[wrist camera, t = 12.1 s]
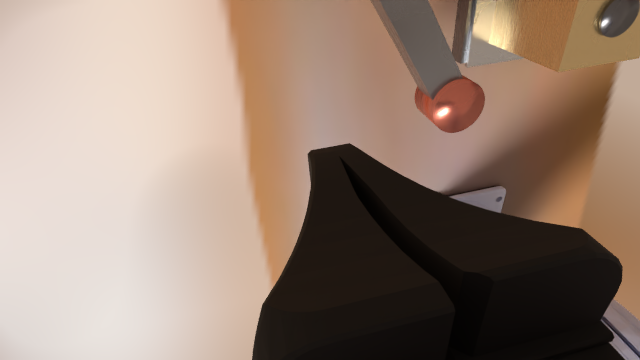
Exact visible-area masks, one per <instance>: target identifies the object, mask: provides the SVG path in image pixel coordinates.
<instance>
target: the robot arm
mask: <svg viewBox="0 0 640 360" xmlns="http://www.w3.org/2000/svg"><path fill="white" fill-rule="evenodd" d="M308 162H309V171H310V180H311V190H310V196H309V202H308V207H307V212H306V215H305V219H304V222H303V226H302V229H301V232H300V234H299V237H298V240H297V243H296V245H295V247H294V250H293V252H292V254H291V256H290V258H289V260H288V262H287V264H286V266H285V268H284V270H283V272H282V274H281V276H280V278H279V279H278V281H277V283H276V284H275V286H274V287H273V289H272V290H271V292H270V294H269V295H268V297H267V298H266V300H265V302H264V303H263V305H262V309H261V313H260V317H259V321H258V326H257V331H256V336H255V341H254V348H253V356H252V360H640V321H639V320H638V319H637V318H636V317H635V316H634V315H632V314H631V313H630V312H629V311H628V310H627V309H626V308H625V307H623V306H622V305H621V304H619V303H618V302H617V301H616V300H614V299H613V298H614V296H615V295H616V293H617V291H618V289H619V286H620V284H621V282H622V265H621V263H620V261H619V259H618V258H617V257H616V256H614V255H613V254H612V253H611V252H609V251H608V250H607V249H606V248H605V247H603V246H602V245H601V244H600V243H598V242H597V241H596V240H595V239H594V238H593V237H591V236H590V235H589V234H588V233H586V232H585V231H584V230H583V229H580V228H574V227H568V226H562V225H556V224H550V223H544V222H538V221H533V220H528V219H524V218H519V217H515V216H511V215H506V214H502V213H501V210H502V206H503V202H504V198H505V195H506V189H505V188H504V187H502V186H497V187H492V188H487V189H482V190H478V191H473V192H468V193H463V194H458V195H454V196H449V197H448V196H446V195H443V194H441V193H438V192H436V191H433V190H431V189H429V188H426V187H424V186H422V185H420V184H418V183H416V182H414V181H412V180H410V179H408V178H406V177H404V176H402V175H401V174H399V173H397V172H395V171H394V170H392V169H390V168H388V167H387V166H385V165H383V164H382V163H380V162H379V161H377V160H375V159H374V158H372V157H371V156H369V155H368V154H366V153H364V152H363V151H361V150H360V149H358V148H357V147H355V146H353V145H352V144H350V143H349V144H344V145H338V146H333V147H327V148H321V149H316V150H311V151H310V152H309V153H308Z"/></svg>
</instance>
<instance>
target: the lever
mask: <svg viewBox="0 0 640 360" xmlns="http://www.w3.org/2000/svg"><path fill="white" fill-rule="evenodd" d="M371 2H372V4H373V6H374V7H375V9H376V11H377V13H378V15H379V16H380V18H381V20H382V22H383V24H384V26H385V27H386V29H387V31H388V33H389V35H390V37H391V38H392V40H393V42H394V44H395V46H396V47H397V49H398V51H399V53H400V55H401V57H402V58H403V60H404V62H405V64H406V66H407V68H408V69H409V71H410V73H411V75H412V77H413V78H414V80H415V82H416V84H417V89H416V92H415V103H416V106H417V108H418V109H419V110H420V111H421V112H422V113H423V114H424V115H425V116H426V117H427V118H428V119H429V120H430V121H432V122H433V123H434V124H435V125H436V126H437V127H438V128H439V129H441V130H442V131H444V132H448V133H455V132H459V131H462V130H464V129H466V128H468V127H469V126H470V125H472V124H473V123H474V122H475V121H476V120H477V118H478V117H479V115H480V114H481V112H482V110H483V107H484V102H485V96H484V92H483V90H482V88H481V87H480V86H479V85H478V84H476V83H475V82H473V81H471V80H470V79H468V78H466V77H465V76H463V75H461V73H460V70H459V68H458V66H457V64H456V62H455V59H454V57H453V55H452V53H451V51H450V48H449V46H448V44H447V42H446V39H445V37H444V35H443V33H442V31H441V28H440V26H439V24H438V22H437V19H436V17H435V15H434V13H433V11H432V8H431V6H430V4H429V2H428V0H371Z"/></svg>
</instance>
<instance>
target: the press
mask: <svg viewBox="0 0 640 360" xmlns="http://www.w3.org/2000/svg"><path fill="white" fill-rule="evenodd" d="M495 6H496V0H459V1H458V9H457V17H456V25H455V33H454V41H453V49H452V55H453V57H454V59H455V61H457V62H459V63H466V64H465V67H473V66H479V65H486V64H492V63H498V62H505V61H511V60H517V59H524V58H523V57H521V56H518V55H516V54H514V53H511V52H509V51H507V50H504V49H502V48H499V47H497V46H495V45H492V44H490V43H489V41H490V35H491V30H492V24H493V18H494V12H495Z"/></svg>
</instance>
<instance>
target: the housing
mask: <svg viewBox="0 0 640 360" xmlns="http://www.w3.org/2000/svg"><path fill="white" fill-rule="evenodd" d="M489 43H490V44H492V45H495V46H497V47H499V48H502V49H504V50H507V51H509V52H511V53H514V54H516V55H518V56H521V57H523V58H526V59H528V60H530V61H533V62H535V63H537V64H540V65H542V66H545V67H547V68H549V69H552V70H554V71H557V72H562V71H568V70H574V69H579V68H585V67H591V66H596V65H602V64H608V63H614V62H619V61H625V60H630V59H636V58H639V56H640V0H496V6H495V12H494V18H493V24H492V30H491V35H490V41H489Z"/></svg>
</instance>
